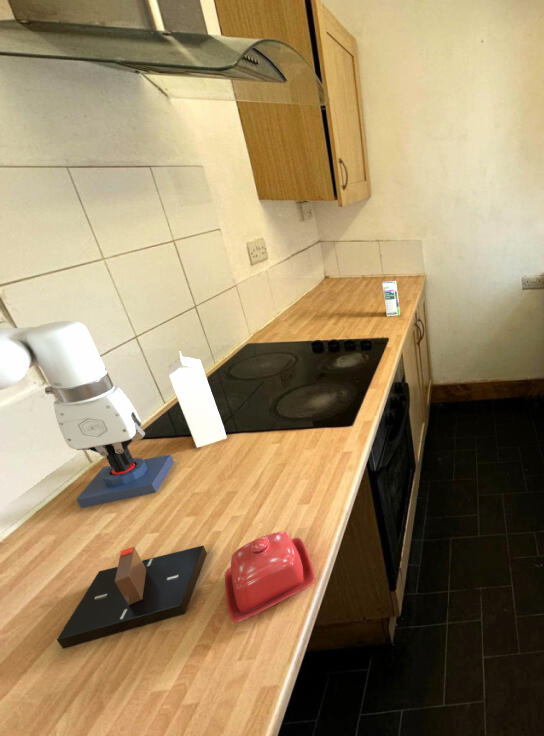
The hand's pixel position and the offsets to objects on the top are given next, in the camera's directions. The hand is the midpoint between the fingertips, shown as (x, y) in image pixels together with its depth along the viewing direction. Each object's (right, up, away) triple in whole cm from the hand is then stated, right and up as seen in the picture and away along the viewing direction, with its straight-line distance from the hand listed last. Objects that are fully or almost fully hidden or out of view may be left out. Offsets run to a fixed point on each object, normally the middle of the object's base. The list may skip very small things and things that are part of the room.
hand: (124, 467), depth 84 cm
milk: (+6, +3, +16) cm, 17 cm away
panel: (+23, -14, -21) cm, 34 cm away
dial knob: (+23, -12, -22) cm, 34 cm away
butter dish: (+41, -13, -19) cm, 47 cm away
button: (0, -2, +1) cm, 2 cm away
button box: (0, -4, +2) cm, 4 cm away
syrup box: (+26, +40, +99) cm, 110 cm away
